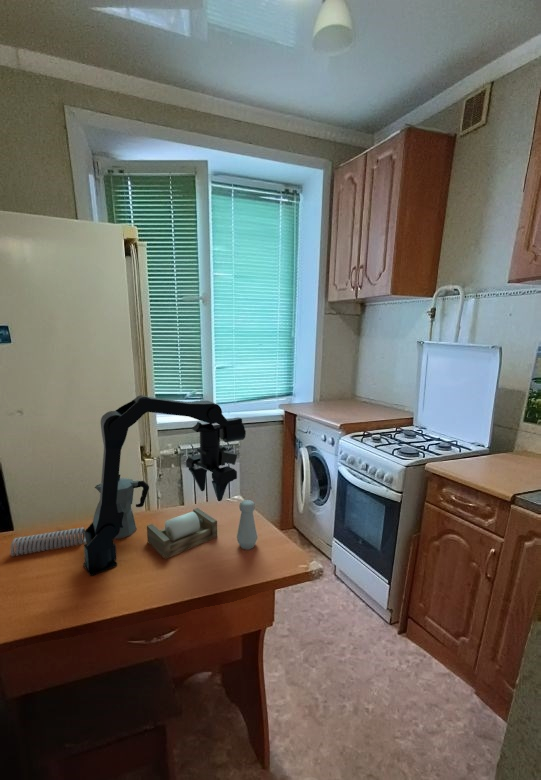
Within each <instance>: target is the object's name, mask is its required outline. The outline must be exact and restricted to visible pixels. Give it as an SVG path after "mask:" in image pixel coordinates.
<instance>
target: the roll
mask: <svg viewBox="0 0 541 780" xmlns="http://www.w3.org/2000/svg"><path fill="white" fill-rule="evenodd" d="M164 529H165V532H166V535H167V537H168V538H169V539H170V541H171V542H173V541H176V540H178V539H181V538H183V537H186V536H188V535H191V534H193V533H196V532H198V531H199V529H200V522H199V519H198V516H197V515H196V513H195V512H193V511H189V512H188V513H185V514H181V515H179V516H175V517H173V518H169V519H168V520H167V519H166V521H165V522H164Z"/></svg>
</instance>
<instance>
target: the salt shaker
mask: <svg viewBox="0 0 541 780" xmlns="http://www.w3.org/2000/svg"><path fill="white" fill-rule="evenodd" d="M255 509H256V506H255V502H254V501H252V500H250V499H246V500H245V499H244V500H242V501H241V502H240V503H239V510H240V518H239V523H238V527H237V528H238V529H237V534H236V540H237V543H238V545H239V546H240V548H241V549H242V550H251V549H253V548H254V547H255V545H256V543H257V540H258V534H257V528H256V524H255V523H256V522H255V516H254V511H255Z"/></svg>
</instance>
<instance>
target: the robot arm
mask: <svg viewBox="0 0 541 780" xmlns="http://www.w3.org/2000/svg"><path fill="white" fill-rule="evenodd" d="M147 413H156V414H164V415H174V416H179V417H180V416H181V417H189V418H192V419H195V420H198V421H197V422H196V423H195V424H194V426H193V427H191V430H192V431H194V432H196V433H199V447H197V448H196V451H197V452H198V453H199V454H196V455H193V456H192V455H191V456H189V457H188V458H186V460H185V464H186V465H185V466H186V468H188V471H189V472H190V473H191V475H192V477H193V478H194V480H195V482H196V484H197V487H198V488H199V490H200V491H201V492H204V491H205V489H206V480H207V472H211V478H212V480H211V483H212V487H213V490H214V493H215V497H216V500H217V501H218V502H221V501H222V500H223V498H224V495H225V492H226V489H227V487H228V484H229V483H230V482H233V481H234V480H237V479H238V471H237V470H236V469H235V468H232V467H230V466H228V465H226V464H231V465H233V466H234V465H236V462H237V458H238V454H237V453H234V452H232V451H230V450H227V448H226V446H222V445H221V440H222V442H224V443H231V442H238V441H239V442H240V441H243V440H245V438H246V429H245V425H244V423H243V419H242V418H241V417H235V418H230V419H227V418H226V417H225V416H224V415H223V410H222V408H221V406H220V405H219V404H218V403H214V402H213V401H211V400H194V401H183V400H182V401H181V400H173V399H168V398H167V399H166V398H160V397H153V396H146V395H144V394H142V395H138V396H136V397H135V398H133V399H132V400H130V401H129V402H127V403H125V404H123V405H121V406H119V407H118V408H117V409H115V410H110V411H107V412H105V413H104V414H103V415H102V416H101V418H100V429H101V437H102V442H103V454H102V455H103V456H102V469H101V481H100V482H101V483H100V484H101V492H99V493H100V495H99V501H98V503H97V506H96V508H95V511H94V514H93V518H92V522H91V523H90V525H88V526H87V528H86V529H85V531H84V533H85V539H86V543H85V544H83V549H84V550H83V551H84V561H83V567H84V568H85V570H86V572H87V573H88V575H89V576H91V577H92V576H94V575H97V574H100V573H102V572H105V571H107V570H109V569H112V568H115V567H117V566H118V562H117V561H116V560H117V546H116V544H115V543H114V540H115V539H114V538H115V537H116V536H117V535H118V534H119V532H120V527H121V528H123V525H122V519H123V515H124V512H123V509H122V507H121V504H120V503H119V504H117V492H118V480H119V474H120V466H121V455H122V448H123V446H124V444H125V441H126V439H127V435H128V431H129V428H130V427H132V426H133V425H134V424H136V423H137V422H138V421H139V420H140V419H141V418H142V417H143V416H144V415H145V414H147ZM200 421H201V422H205V423H203V424H202V423H201V422H200ZM213 424H216V425H213ZM225 465H226V466H225ZM220 466H221V467H220Z"/></svg>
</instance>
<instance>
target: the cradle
mask: <svg viewBox="0 0 541 780" xmlns="http://www.w3.org/2000/svg"><path fill="white" fill-rule="evenodd" d="M192 512H195V513H196V515H197V516H198V519H199V522H200V529H199V531H198V532H196V533H193V534H191V535H188V536H186V537H183V538H181V539H178V540H176V541H173V542H171V541H170V539H169V538H168V537H167V535H166V532H165V528H162V529H159V528H158V527H157V526H155V525H154V524H153V523H149V524H148V525H146V536H147V537H146V540H147V543H148V544H149V545H150V546H151V547H152V548H153V549H154V550H155V551H157V553H158V554H159V555H160V556H161V557H162V558H163V559H165V560H167V559H168V558H170V557H173V556H175V555H178V554H180V553H182V552H185V551H187V550H190V549H191V548H194V547H196V546H198V545H201V544H203V543H207V542H208V541H211V540H213V539H215V538H217V537H218V520H217V519H215V518H214V517H212V516H211V515H209V514H208V513H206V512H205V511H203V510H202V509H200V508H198V507H196V508H193V509H192Z"/></svg>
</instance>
